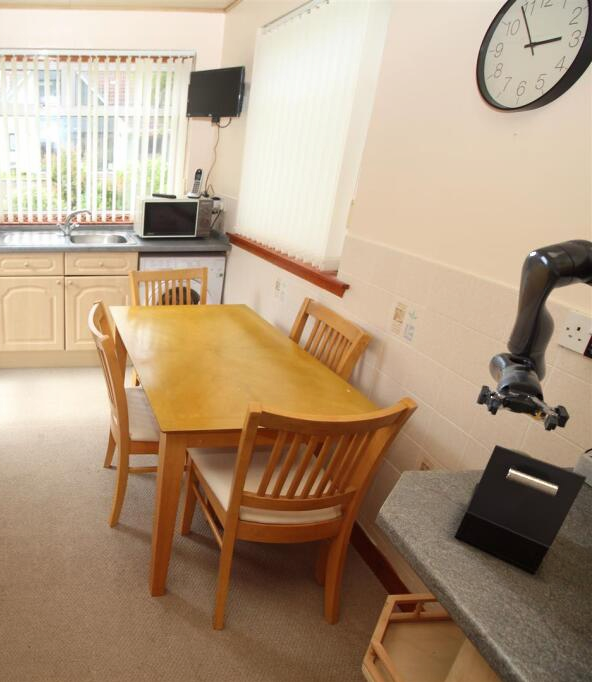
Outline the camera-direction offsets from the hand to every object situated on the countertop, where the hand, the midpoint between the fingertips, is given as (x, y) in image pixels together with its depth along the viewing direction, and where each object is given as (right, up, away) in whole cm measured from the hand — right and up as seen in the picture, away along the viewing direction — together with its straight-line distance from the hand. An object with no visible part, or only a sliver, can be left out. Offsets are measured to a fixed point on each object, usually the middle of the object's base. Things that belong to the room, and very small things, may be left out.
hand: (521, 418), depth 96 cm
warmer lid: (-19, -9, -20) cm, 29 cm away
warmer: (-16, -19, -13) cm, 28 cm away
